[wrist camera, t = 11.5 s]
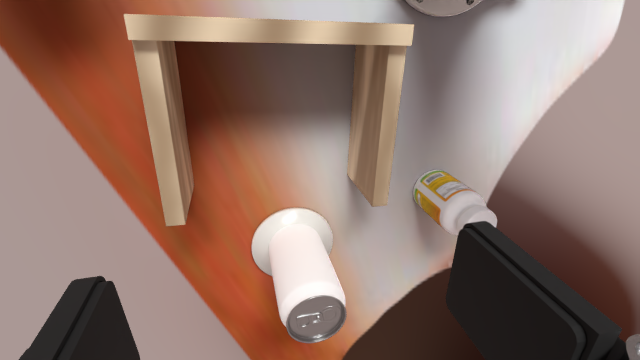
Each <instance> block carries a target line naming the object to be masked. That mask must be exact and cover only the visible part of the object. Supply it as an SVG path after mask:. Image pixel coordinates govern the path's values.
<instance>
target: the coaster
mask: <svg viewBox="0 0 640 360" xmlns="http://www.w3.org/2000/svg"><path fill="white" fill-rule="evenodd" d="M292 224H304V225H308V226H310V227H312V228H313V229H315V230H316V231H317V233H318V234H319V236H320V238H321V241H322V243H323V245H324V247H325V250H326V252H327V254H328V256H329V254H330V252H331V249H332V245H333V235H332V231H331V228H330V226H329V224H328V222H327V221H326V220H325V218H323V217H322V216H321V215H320V214H319V213H317V212H315V211H313V210H310V209H307V208H301V207H292V208H286V209H282V210H280V211H277V212H275V213H273V214H271V215H270V216H268V217H267V218H266V219H264V220H263V221H262V222H261V224H260V225H259V226H258V227H257V229H256V231H255V233H254V235H253V238H252V255H253V258H254V261H255V263H256V264H257V266H258V267H259V268H260V269H261V270H262V271H264V272H265V273H267V274H268V275H271V276H273V275H272V269H271V263H270V257H269V243H270V241H271V239H272V237H273V236H274V235H275V233H276V232H278V231H279V230H280V229H282V228H284V227H286V226H288V225H292Z"/></svg>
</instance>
